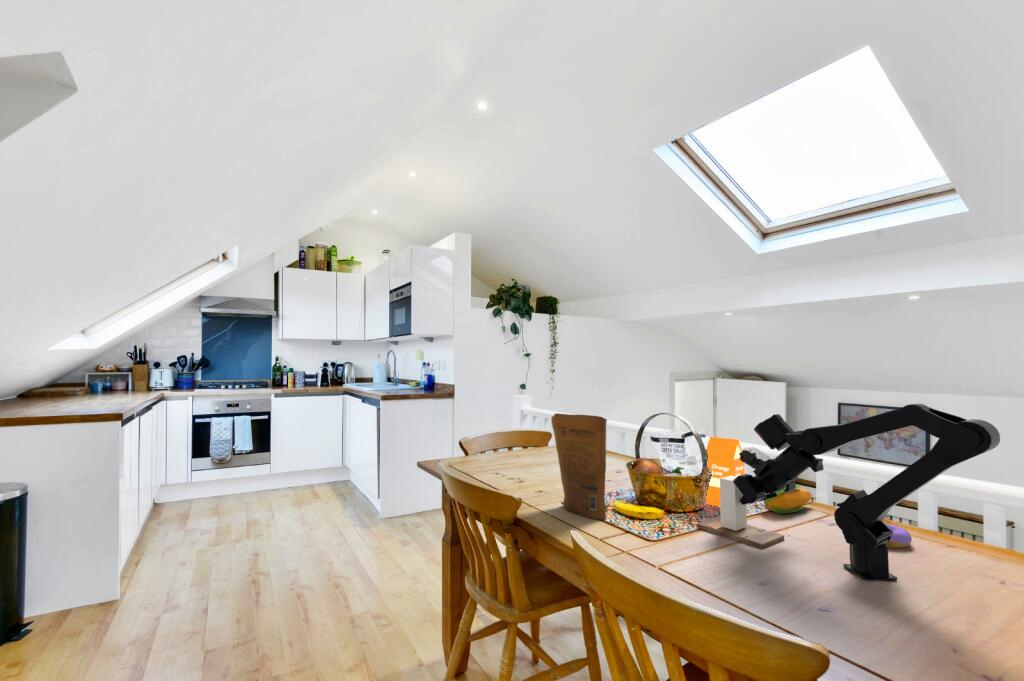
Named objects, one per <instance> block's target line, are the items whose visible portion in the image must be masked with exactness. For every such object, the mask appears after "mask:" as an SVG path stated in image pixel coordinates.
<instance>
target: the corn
mask: <svg viewBox="0 0 1024 681" xmlns="http://www.w3.org/2000/svg"><path fill="white" fill-rule="evenodd" d="M800 487H801V485H800V484H796V488H795V489H793V490H792V491H791V492H788V493H784V492H783V491H784V490H785V489H786V488H785V489H784V490H782V491H778V492H775V493H776V494H777V496H776V497H773V498H770V499H767V500H764V501H763V504H764V506H765V508H766V509H767V510H768V511H769V512H771V510H772V511H773V513H775V514H779V515H784V514H790V513H794V512H795V513H796V512H798V511H801V510H804V509H806V504H807V503H809V501H810V500H812V498H813V497H812V493H811V491H809V490H808V489H805V488H800Z"/></svg>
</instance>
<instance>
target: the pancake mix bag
mask: <svg viewBox="0 0 1024 681" xmlns="http://www.w3.org/2000/svg"><path fill="white" fill-rule="evenodd" d="M550 421H551V427H552V430H553V436H554V442H555V449H556V453H557V460H558V464H559V465H558V466H559V470H560V479H561V483H562V484H561V485H562V488H563V494H564V497H563V507H562V508H563V510H565V511H567V512H570V513H574V514H575V515H580V516H583V517H586V518H588V519H592V520H607V512H606V501H605V500H606V498H605V496H606V495H605V492H606V471H607V421H608V419H606V418H605V417H603V416H600V415H588V414H569V413H568V414H567V413H557V412H556V413H554V415H553V416H551V420H550Z"/></svg>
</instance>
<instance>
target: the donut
mask: <svg viewBox="0 0 1024 681" xmlns="http://www.w3.org/2000/svg"><path fill="white" fill-rule="evenodd" d="M884 524H885V525H886V526H887V527H888V528H889V529H890V530H891V531H892V532H893V535H892V537H891V540H890V541H889V542H886V543H884V544H886V547H887V548H890V549H903V548H907V547H909V546H910V545H911V543H912V540H913V538H912V535H911V533H910V532H909V531H908V530H907V529H906V528H903V527H899V526H897V525H894V524H893V525H892V524H888V523H884Z"/></svg>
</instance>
